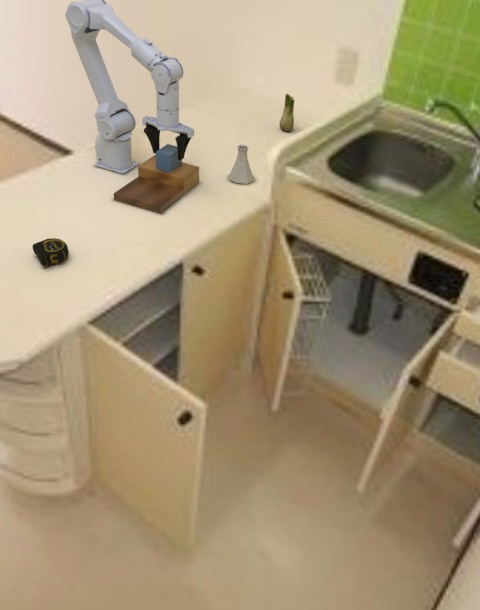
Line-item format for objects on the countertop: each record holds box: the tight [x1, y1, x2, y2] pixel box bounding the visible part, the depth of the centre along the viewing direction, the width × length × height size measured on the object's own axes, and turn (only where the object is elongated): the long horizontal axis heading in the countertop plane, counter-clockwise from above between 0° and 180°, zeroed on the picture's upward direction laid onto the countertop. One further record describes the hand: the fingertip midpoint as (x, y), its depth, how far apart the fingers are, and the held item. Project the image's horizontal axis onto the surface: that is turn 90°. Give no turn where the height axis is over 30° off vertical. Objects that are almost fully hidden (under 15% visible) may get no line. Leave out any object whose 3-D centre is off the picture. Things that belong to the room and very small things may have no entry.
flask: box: [228, 144, 254, 185], centre depth 186 cm, size 7×7×10 cm
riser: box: [113, 154, 200, 215], centre depth 175 cm, size 14×21×5 cm, turn 161°
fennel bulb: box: [279, 93, 295, 132], centre depth 219 cm, size 6×5×12 cm
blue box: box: [155, 143, 183, 173], centre depth 177 cm, size 4×6×5 cm
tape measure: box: [32, 237, 70, 267], centre depth 144 cm, size 7×7×4 cm
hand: (168, 155), depth 176 cm, fingers open, 7 cm apart
